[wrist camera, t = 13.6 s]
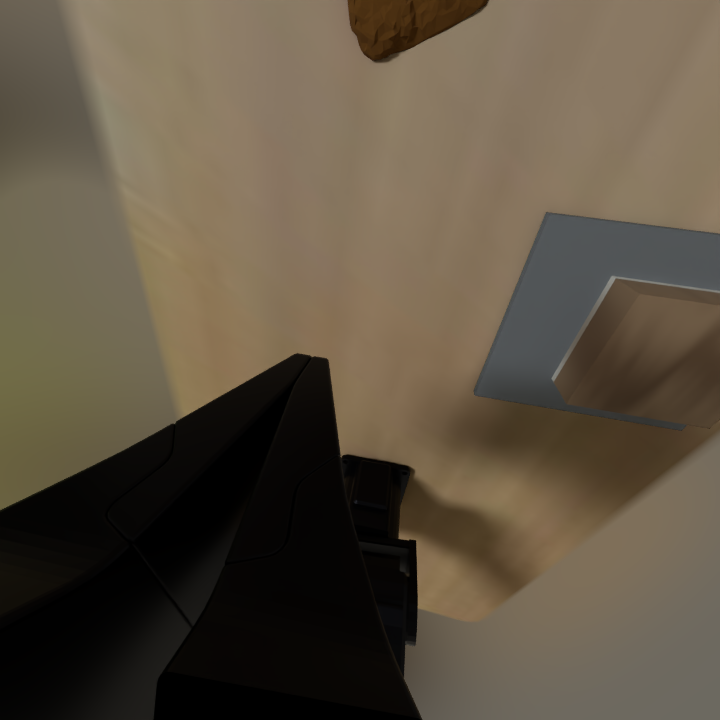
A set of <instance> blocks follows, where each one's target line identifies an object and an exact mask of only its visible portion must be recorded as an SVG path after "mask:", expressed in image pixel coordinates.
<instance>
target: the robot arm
mask: <svg viewBox="0 0 720 720" xmlns="http://www.w3.org/2000/svg"><path fill="white" fill-rule="evenodd" d="M409 476H410V468H408V467H406V466H401V465H396V464H391V463H385V462H380V461H375V460H370V459H364V458H359V457H354V456H348V455H343V456H342V457H340V447H339V439H338V431H337V423H336V415H335V408H334V400H333V392H332V384H331V376H330V368H329V361H328V359H327V358H321V357H316V356H314V357H311V356H310V355H304V354H299V353H297V354H294V355H292V356H290V357H289V358H287V359H285V360H283V361H282V362H280V363H278V364H276V365H275V366H273V367H271V368H269V369H268V370H266V371H264V372H262V373H260V374H259V375H257V376H255V377H253V378H252V379H250V380H248V381H246V382H245V383H243V384H241V385H239V386H238V387H236V388H234V389H232V390H231V391H229V392H227V393H225V394H224V395H222V396H220V397H218V398H216V399H215V400H213V401H211V402H209V403H208V404H206V405H204V406H202V407H201V408H199V409H197V410H195V411H194V412H192V413H190V414H188V415H187V416H185V417H183V418H181V419H179V420H178V421H176V423H175V424H170V425H169V426H167V427H165V428H163V429H162V430H160V431H158V432H156V433H155V434H153V435H151V436H149V437H147V438H145V439H144V440H142V441H140V442H138V443H136V444H134V445H132V446H131V447H129V448H127V449H125V450H123V451H121V452H119V453H117V454H115V455H113V456H111V457H109V458H107V459H105V460H103V461H101V462H99V463H97V464H95V465H93V466H91V467H89V468H87V469H85V470H83V471H81V472H79V473H77V474H74V475H73V476H70V477H68V478H66V479H64V480H62V481H60V482H58V483H56V484H54V485H52V486H50V487H47V488H45V489H44V490H41V491H39V492H37V493H35V494H33V495H31V496H29V497H27V498H25V499H23V500H20V501H19V502H16V503H14V504H12V505H10V506H8V507H6V508H4V509H2V510H0V720H422V718H421V716H420V713H419V711H418V709H417V707H416V704H415V702H414V700H413V698H412V695H411V693H410V691H409V689H408V686H407V684H406V682H405V680H404V661H405V645H410V646H415V644H416V633H417V606H418V594H417V556H416V540H410V539H409V541H408V540H401V539H399V519H400V505H401V502H402V498H403V495H404V492H405V489H406V486H407V482H408V479H409Z"/></svg>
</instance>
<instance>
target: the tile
mask: <svg viewBox="0 0 720 720" xmlns="http://www.w3.org/2000/svg"><path fill="white" fill-rule="evenodd" d="M551 379H552V380H553V382H554V384H555V386H556V387H557V389H558V391H559V392H560V394H561V396H562V398H563V399H564V401H565V403H566V404H569V405H575V406H581V407H586V408H592V409H598V410H604V411H610V412H615V413H621V414H627V415H633V416H639V417H645V418H650V419H656V420H662V421H668V422H674V423H680V424H685V425H691V426H697V427H703V428H709V429H710V428H711V427H712V426H713V425H714V424H715V423H716V422H717V421H719V420H720V291H716V290H709V289H702V288H695V287H688V286H681V285H674V284H667V283H660V282H652V281H645V280H638V279H631V278H624V277H617V276H611V278H610V280H609V281H608V283H607V285H606V286H605V288H604V290H603V292H602V293H601V295H600V297H599V298H598V300H597V302H596V303H595V305H594V307H593V309H592V310H591V312H590V314H589V315H588V317H587V319H586V320H585V322H584V324H583V326H582V327H581V329H580V331H579V332H578V334H577V336H576V337H575V339H574V341H573V343H572V344H571V346H570V348H569V349H568V351H567V353H566V354H565V356H564V358H563V360H562V361H561V363H560V365H559V366H558V368H557V370H556V371H555V373H554V375H553V377H552V378H551Z"/></svg>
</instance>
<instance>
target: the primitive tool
mask: <svg viewBox="0 0 720 720" xmlns="http://www.w3.org/2000/svg"><path fill="white" fill-rule="evenodd" d="M486 3H487V0H348V8H349V18H350V26H351V29H352V31H353V32H354V33H355V34H356V35H357V38H358V42H359V46H360V48H361V50H362V52H363V53H364V55H366V56H367V57H368V58H370V59H371V60H372V61H373V60H380V59H382V58H386V57H388V56H389V55H390V54H393V53H397V52H400V51H402V50H406V49H410V48H412V47H414V46H416V45H417V44H419V43H421V42H422V41H424V40H425V39H428V38H430V37H432V36H435V35H437V34H439V33H441V32H443V31H445V30H447V29H449V28H450V27H452V26H454V25H455V24H457V23H458V22H460V21H462V20H463V19H465V18H467V17H468V16H470V15H471V14H473V13H474V12H475V11H476V10H477V9H480V8H481V7H483V6H484V5H485V4H486Z"/></svg>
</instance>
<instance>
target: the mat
mask: <svg viewBox="0 0 720 720" xmlns="http://www.w3.org/2000/svg"><path fill="white" fill-rule="evenodd" d="M611 276H617V277H624V278H631V279H638V280H645V281H652V282H660V283H667V284H674V285H681V286H688V287H695V288H702V289H709V290H716V291H720V234H718V233H710V232H701V231H693V230H685V229H677V228H669V227H661V226H653V225H645V224H637V223H629V222H621V221H613V220H605V219H597V218H589V217H581V216H573V215H565V214H557V213H549V212H546V214H545V217H544V219H543V222H542V224H541V227H540V229H539V231H538V234H537V236H536V239H535V241H534V244H533V246H532V249H531V251H530V254H529V256H528V259H527V261H526V263H525V266H524V268H523V271H522V273H521V276H520V278H519V281H518V283H517V286H516V288H515V291H514V293H513V295H512V298H511V300H510V303H509V305H508V308H507V310H506V313H505V315H504V318H503V320H502V322H501V325H500V327H499V330H498V332H497V335H496V337H495V340H494V342H493V345H492V347H491V350H490V352H489V354H488V357H487V359H486V362H485V364H484V367H483V369H482V372H481V374H480V377H479V379H478V382H477V384H476V386H475V389H474V395H475V396H481V397H487V398H492V399H498V400H504V401H510V402H516V403H522V404H528V405H534V406H540V407H545V408H551V409H557V410H563V411H569V412H575V413H581V414H587V415H592V416H598V417H604V418H610V419H616V420H622V421H628V422H634V423H640V424H645V425H651V426H657V427H663V428H669V429H675V430H681V431H682V430H683V429H684V428H685V427H686V426H687V425H685V424H680V423H674V422H668V421H662V420H656V419H650V418H645V417H639V416H633V415H627V414H621V413H615V412H610V411H604V410H598V409H592V408H586V407H581V406H575V405H569V404H566V403H565V401H564V399H563V398H562V396H561V394H560V392H559V391H558V389H557V387H556V386H555V384H554V382H553V380H552V379H551V378H552V377H553V375H554V373H555V371H556V370H557V368H558V366H559V365H560V363H561V361H562V360H563V358H564V356H565V354H566V353H567V351H568V349H569V348H570V346H571V344H572V343H573V341H574V339H575V337H576V336H577V334H578V332H579V331H580V329H581V327H582V326H583V324H584V322H585V320H586V319H587V317H588V315H589V314H590V312H591V310H592V309H593V307H594V305H595V303H596V302H597V300H598V298H599V297H600V295H601V293H602V292H603V290H604V288H605V286H606V285H607V283H608V281H609V280H610V278H611Z"/></svg>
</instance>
